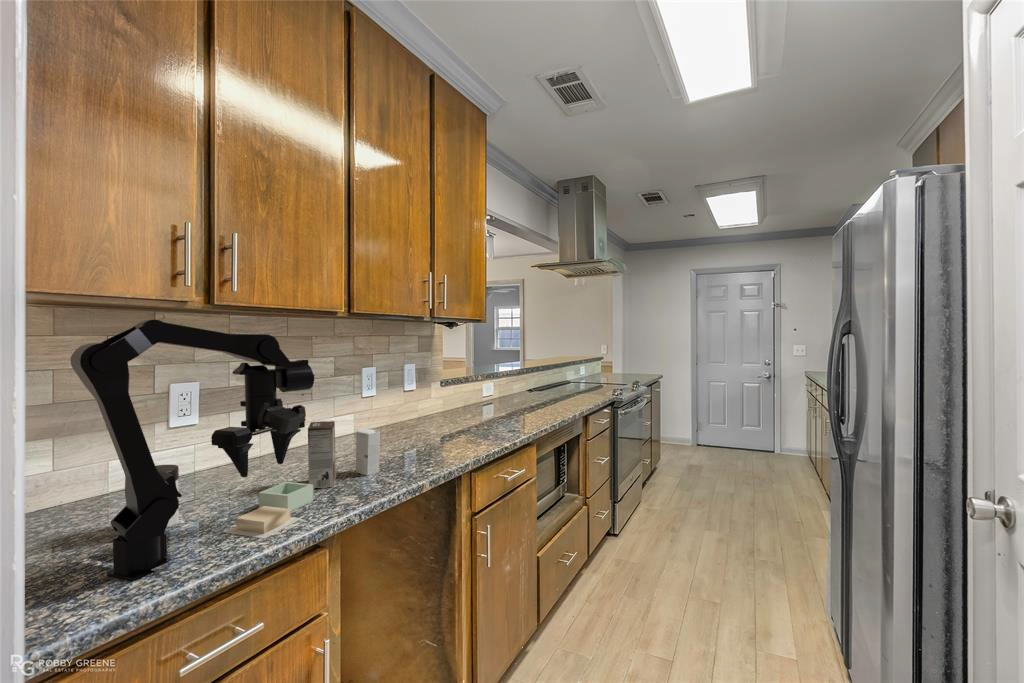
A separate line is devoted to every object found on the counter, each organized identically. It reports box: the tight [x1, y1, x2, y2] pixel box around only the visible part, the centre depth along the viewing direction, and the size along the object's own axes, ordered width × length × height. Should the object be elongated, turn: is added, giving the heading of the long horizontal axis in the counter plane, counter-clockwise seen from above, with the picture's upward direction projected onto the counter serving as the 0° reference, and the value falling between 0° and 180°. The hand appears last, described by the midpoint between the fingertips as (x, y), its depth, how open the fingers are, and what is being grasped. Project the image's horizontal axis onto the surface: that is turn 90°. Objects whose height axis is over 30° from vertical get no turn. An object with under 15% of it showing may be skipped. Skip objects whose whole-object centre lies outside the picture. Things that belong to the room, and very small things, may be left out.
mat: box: [224, 516, 302, 539], centre depth 96 cm, size 10×10×1 cm
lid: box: [235, 506, 292, 534], centre depth 96 cm, size 7×7×2 cm
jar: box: [155, 464, 180, 528], centre depth 97 cm, size 9×8×12 cm
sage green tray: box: [258, 481, 314, 513], centre depth 107 cm, size 8×8×4 cm
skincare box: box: [355, 428, 381, 477], centre depth 134 cm, size 6×4×12 cm
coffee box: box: [307, 420, 337, 490], centre depth 124 cm, size 9×6×16 cm
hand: (263, 470), depth 95 cm, fingers open, 9 cm apart
